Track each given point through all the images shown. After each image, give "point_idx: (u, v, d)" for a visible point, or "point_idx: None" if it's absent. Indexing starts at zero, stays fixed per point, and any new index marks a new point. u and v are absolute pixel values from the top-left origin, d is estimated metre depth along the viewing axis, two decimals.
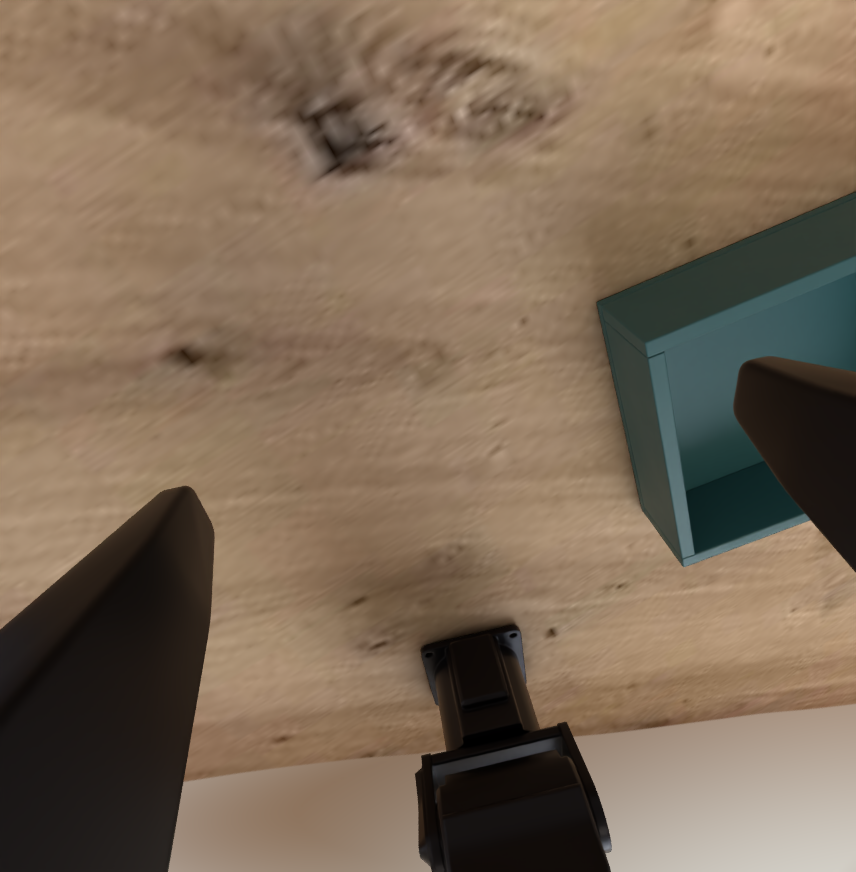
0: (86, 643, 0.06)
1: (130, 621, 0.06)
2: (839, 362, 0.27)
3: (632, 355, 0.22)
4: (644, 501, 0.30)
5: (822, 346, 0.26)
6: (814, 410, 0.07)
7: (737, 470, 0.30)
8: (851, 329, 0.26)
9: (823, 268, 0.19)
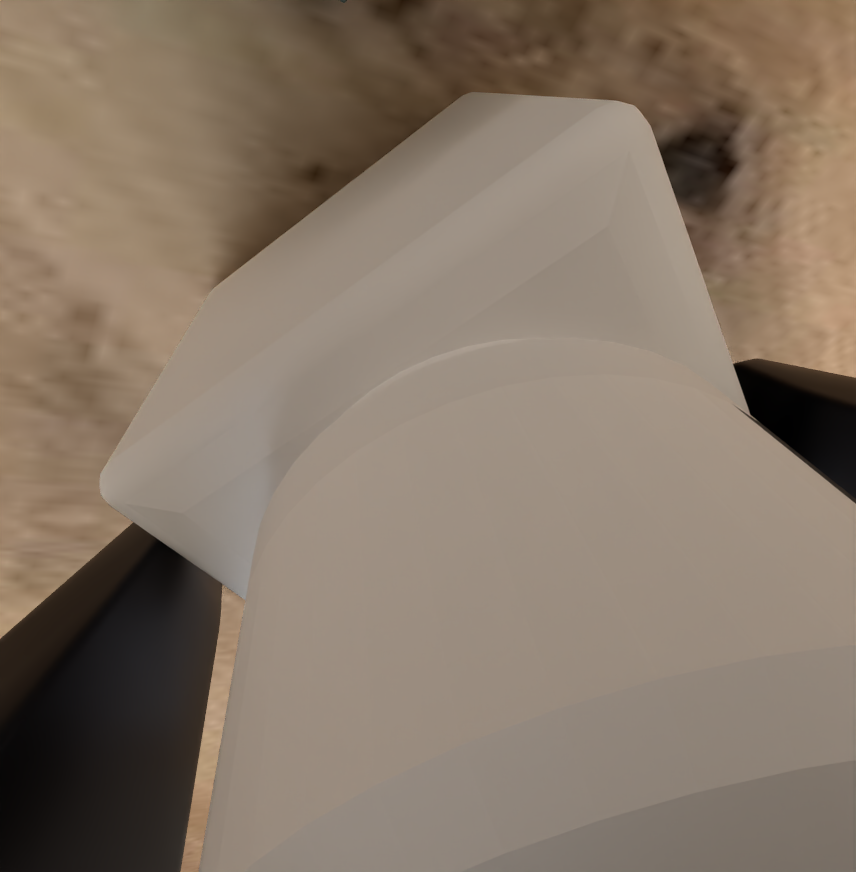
0: (101, 640, 0.06)
1: (143, 618, 0.06)
2: None
3: None
4: None
5: None
6: (800, 413, 0.07)
7: None
8: None
9: None
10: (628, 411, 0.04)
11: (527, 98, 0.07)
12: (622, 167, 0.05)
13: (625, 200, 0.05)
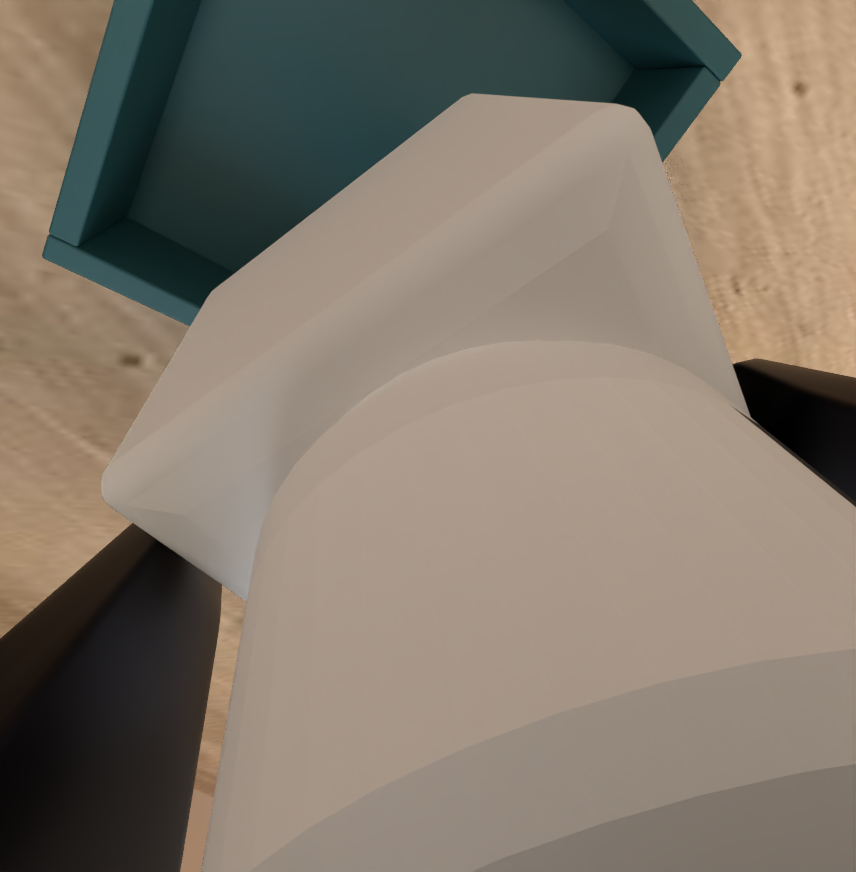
0: (100, 640, 0.06)
1: (143, 618, 0.06)
2: None
3: None
4: None
5: None
6: (800, 413, 0.07)
7: None
8: None
9: None
10: (627, 414, 0.04)
11: (527, 100, 0.07)
12: (622, 170, 0.05)
13: (625, 203, 0.05)
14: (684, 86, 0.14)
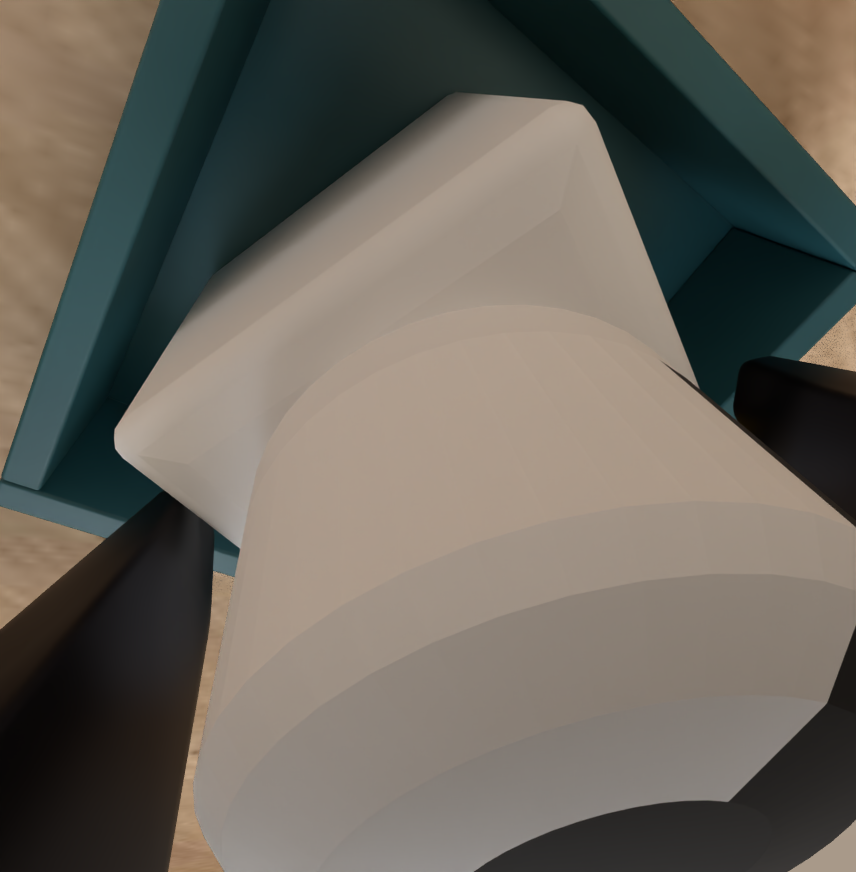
0: (86, 643, 0.06)
1: (130, 621, 0.06)
2: None
3: None
4: None
5: None
6: (814, 410, 0.07)
7: None
8: None
9: (702, 48, 0.08)
10: (561, 356, 0.05)
11: (500, 98, 0.08)
12: (571, 158, 0.06)
13: (575, 187, 0.06)
14: (822, 288, 0.11)
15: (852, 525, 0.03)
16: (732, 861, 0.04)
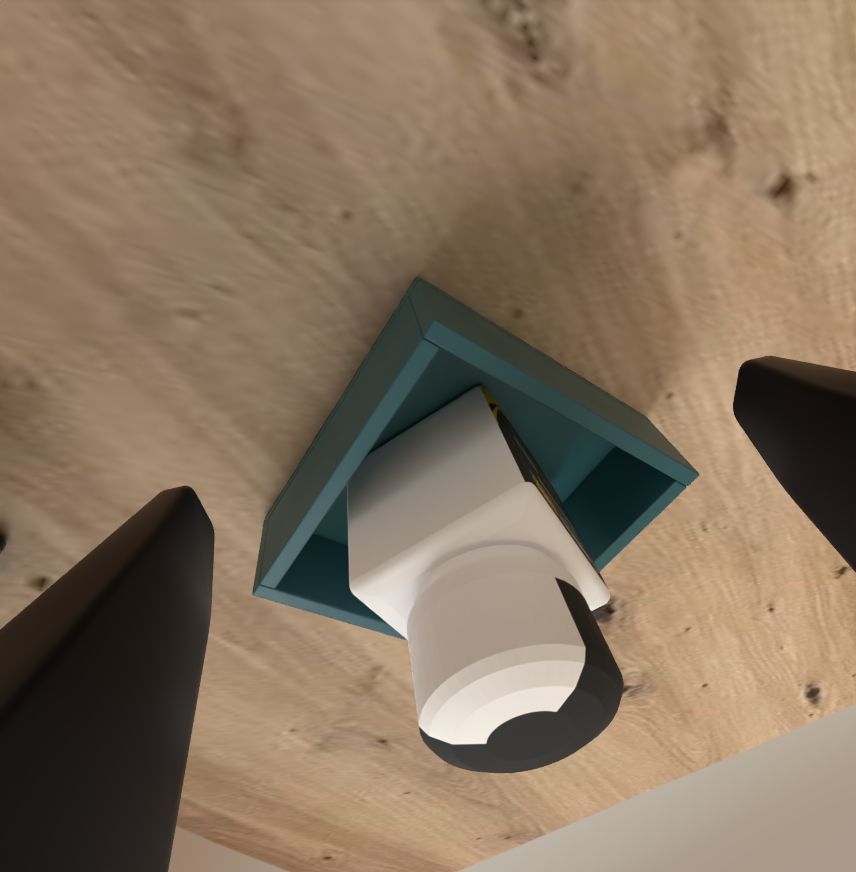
0: (86, 643, 0.06)
1: (130, 621, 0.06)
2: None
3: (408, 334, 0.18)
4: (275, 510, 0.24)
5: None
6: (814, 410, 0.07)
7: None
8: None
9: None
10: (520, 587, 0.16)
11: (501, 439, 0.19)
12: (526, 502, 0.17)
13: (528, 510, 0.17)
14: (663, 485, 0.22)
15: (584, 646, 0.14)
16: (564, 731, 0.15)
